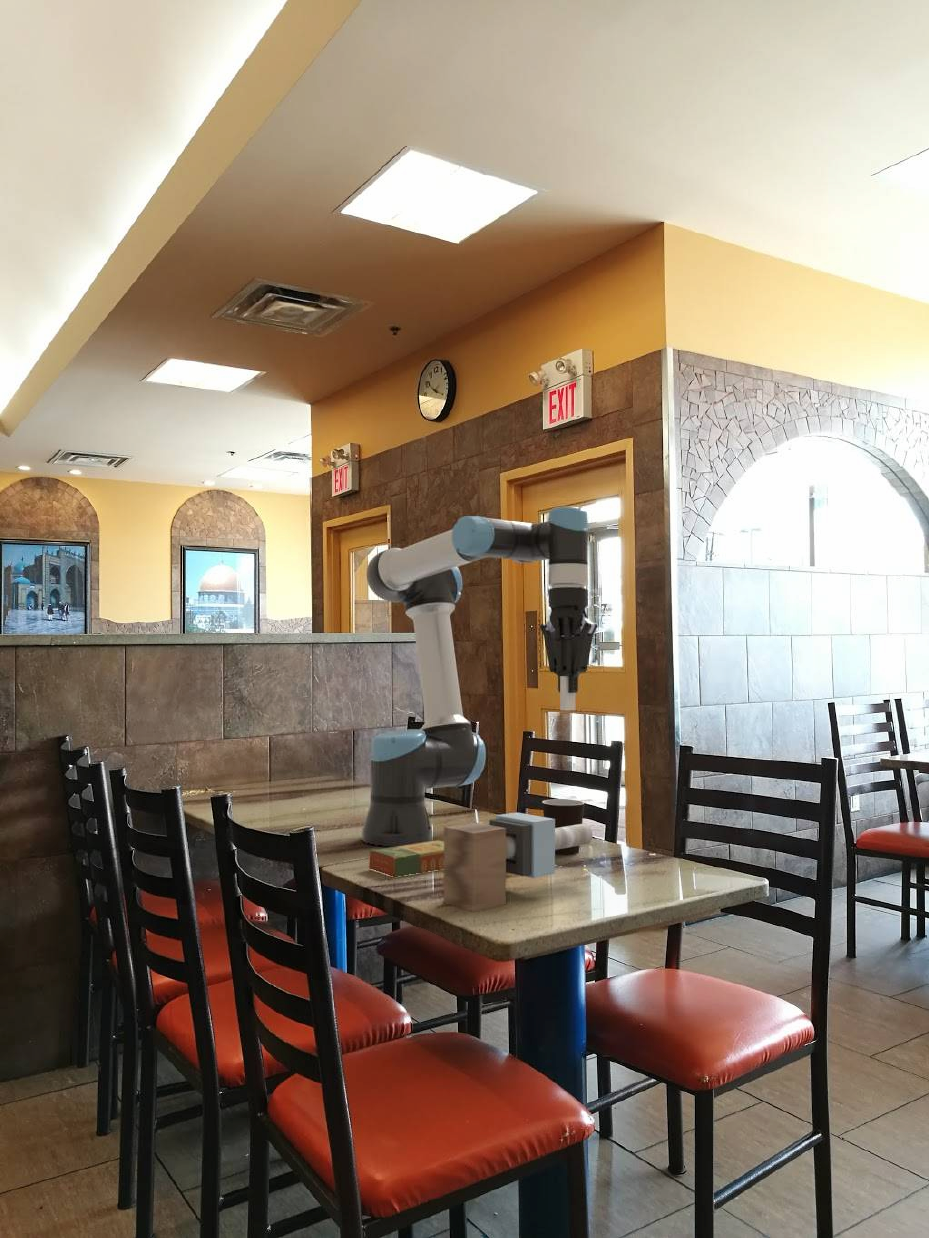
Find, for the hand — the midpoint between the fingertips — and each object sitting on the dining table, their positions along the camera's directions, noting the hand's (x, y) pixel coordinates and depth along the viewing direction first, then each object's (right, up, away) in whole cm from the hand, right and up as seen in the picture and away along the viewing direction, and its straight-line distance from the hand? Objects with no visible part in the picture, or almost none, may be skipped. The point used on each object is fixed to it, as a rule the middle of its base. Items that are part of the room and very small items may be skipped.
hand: (567, 710), depth 182 cm
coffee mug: (+1, -30, +13) cm, 33 cm away
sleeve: (-10, -25, -23) cm, 35 cm away
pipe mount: (-10, -28, -23) cm, 38 cm away
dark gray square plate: (-12, -24, -25) cm, 37 cm away
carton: (-29, -30, -5) cm, 42 cm away
